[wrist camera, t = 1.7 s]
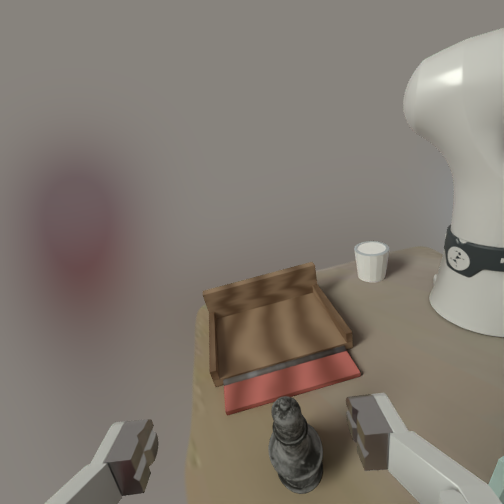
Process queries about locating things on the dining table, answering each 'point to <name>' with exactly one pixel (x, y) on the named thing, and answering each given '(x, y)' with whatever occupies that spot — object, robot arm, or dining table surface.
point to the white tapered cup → (371, 260)
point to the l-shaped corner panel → (498, 480)
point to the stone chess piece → (295, 447)
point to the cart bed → (275, 338)
